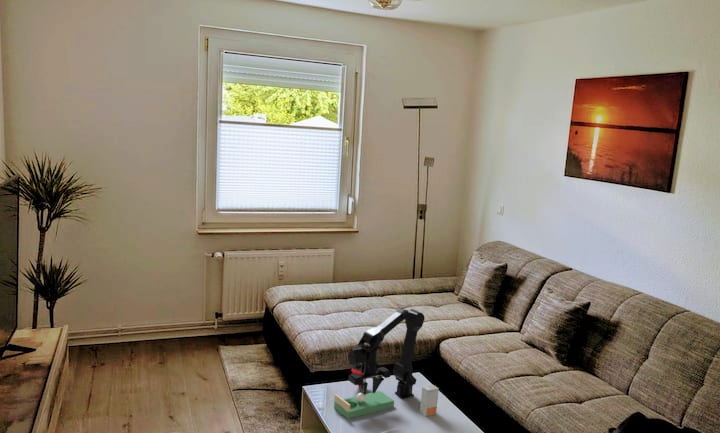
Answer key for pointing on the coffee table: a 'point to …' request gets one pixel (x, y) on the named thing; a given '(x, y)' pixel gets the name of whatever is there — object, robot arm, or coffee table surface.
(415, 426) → the coffee table surface
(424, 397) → the skincare box
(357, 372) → the gemstone
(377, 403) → the putting mat
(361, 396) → the ball
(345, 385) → the coffee table surface
